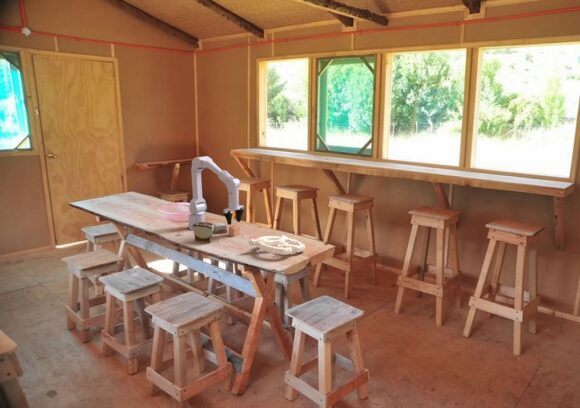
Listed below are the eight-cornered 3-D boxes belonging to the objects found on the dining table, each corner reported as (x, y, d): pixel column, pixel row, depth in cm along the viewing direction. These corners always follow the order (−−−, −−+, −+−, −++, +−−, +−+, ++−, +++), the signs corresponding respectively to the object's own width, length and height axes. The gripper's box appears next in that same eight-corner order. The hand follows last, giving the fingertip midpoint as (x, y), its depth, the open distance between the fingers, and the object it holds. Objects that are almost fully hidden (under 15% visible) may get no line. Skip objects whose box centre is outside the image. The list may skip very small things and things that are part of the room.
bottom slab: (215, 234, 256) (215, 230, 256) (213, 231, 263) (213, 227, 262) (227, 233, 259) (227, 229, 258) (224, 230, 265) (224, 226, 264)
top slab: (216, 230, 256) (216, 226, 256) (214, 227, 262) (214, 223, 261) (226, 229, 259) (226, 225, 258) (224, 226, 264) (224, 222, 264)
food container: (218, 240, 244) (217, 223, 242) (212, 243, 239) (212, 225, 237) (198, 237, 248) (198, 220, 246) (192, 240, 243) (192, 223, 240)
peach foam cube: (234, 236, 251) (234, 228, 250) (228, 235, 254) (228, 227, 253) (239, 235, 255) (239, 226, 254) (233, 233, 257) (233, 225, 256)
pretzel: (280, 242, 248) (282, 231, 247) (312, 254, 232) (313, 242, 231) (242, 246, 228) (244, 234, 227) (274, 260, 212) (275, 247, 211)
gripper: (230, 203, 242) (230, 226, 245) (247, 198, 253) (247, 221, 256) (220, 201, 246) (221, 224, 249) (238, 197, 257) (238, 219, 260)
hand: (233, 223), depth 253 cm, fingers open, 7 cm apart
